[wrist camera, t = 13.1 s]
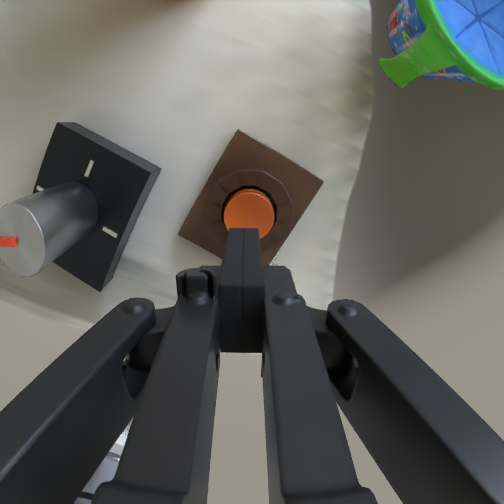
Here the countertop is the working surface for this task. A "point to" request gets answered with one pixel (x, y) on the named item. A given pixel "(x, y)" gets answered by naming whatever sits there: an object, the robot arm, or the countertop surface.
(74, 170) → the control panel
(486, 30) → the snack cup
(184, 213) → the countertop surface
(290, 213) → the button block
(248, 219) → the button
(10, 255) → the dial
